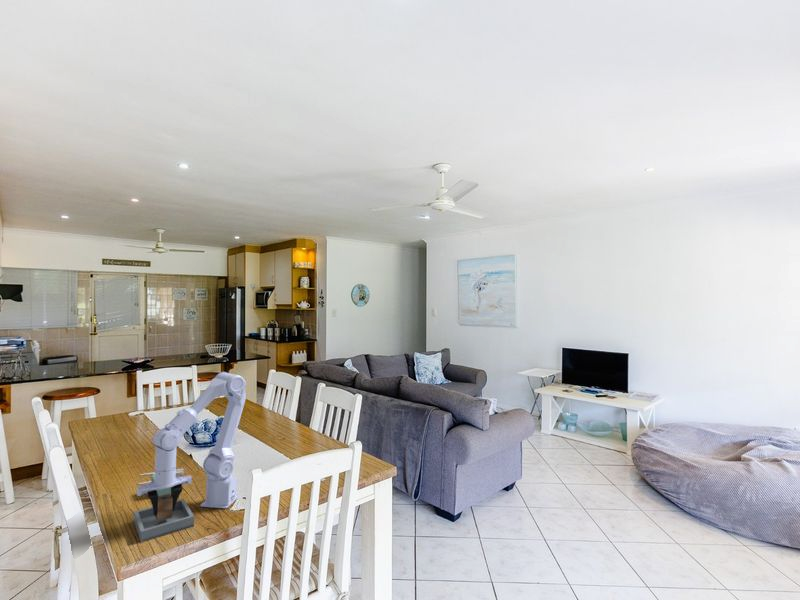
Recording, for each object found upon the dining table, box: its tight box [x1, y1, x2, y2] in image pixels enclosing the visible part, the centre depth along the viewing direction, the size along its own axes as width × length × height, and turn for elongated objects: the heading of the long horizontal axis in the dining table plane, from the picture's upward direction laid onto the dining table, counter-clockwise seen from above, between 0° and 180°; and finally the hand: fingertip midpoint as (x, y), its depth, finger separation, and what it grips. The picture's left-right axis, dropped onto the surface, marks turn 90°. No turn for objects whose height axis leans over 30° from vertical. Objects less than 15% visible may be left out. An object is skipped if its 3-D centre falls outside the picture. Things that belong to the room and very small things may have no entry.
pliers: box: [137, 468, 184, 486], centre depth 159 cm, size 10×2×15 cm
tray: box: [133, 498, 195, 543], centre depth 126 cm, size 14×14×3 cm
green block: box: [150, 474, 171, 496], centre depth 146 cm, size 6×6×8 cm
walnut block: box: [155, 493, 173, 522], centre depth 126 cm, size 4×4×6 cm
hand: (164, 512), depth 126 cm, fingers closed on walnut block, 4 cm apart
